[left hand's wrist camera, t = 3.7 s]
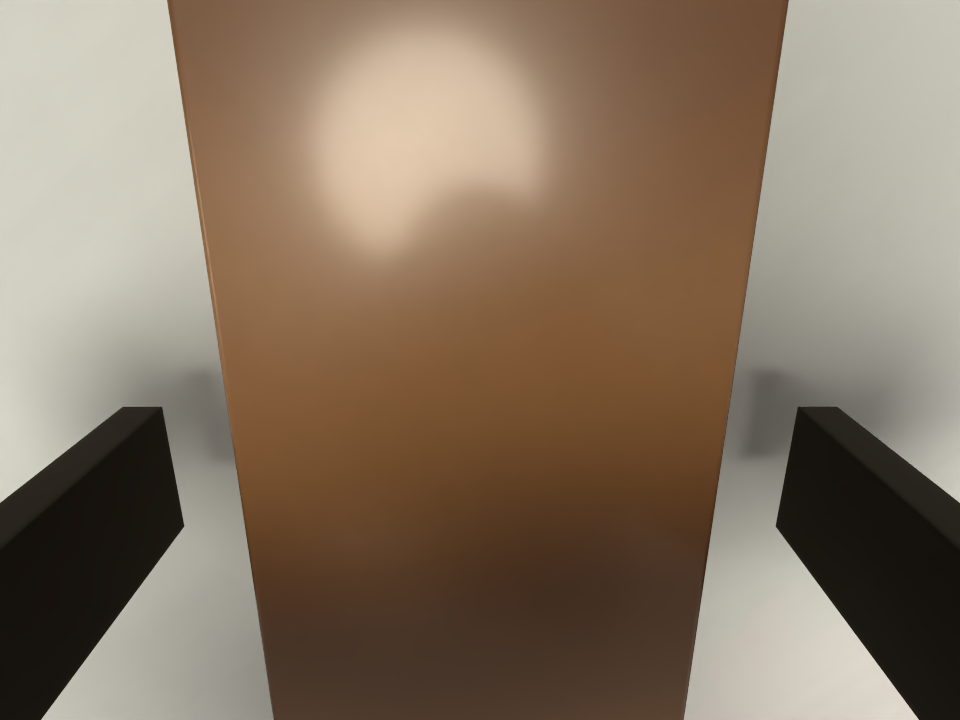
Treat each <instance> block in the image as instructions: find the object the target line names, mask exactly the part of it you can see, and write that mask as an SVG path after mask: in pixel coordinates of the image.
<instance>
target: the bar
mask: <svg viewBox="0 0 960 720" xmlns="http://www.w3.org/2000/svg"><path fill="white" fill-rule="evenodd" d="M788 1H789V0H167V2H168V8H169V15H170V22H171V29H172V35H173V42H174V49H175V56H176V62H177V69H178V76H179V83H180V90H181V96H182V103H183V110H184V117H185V123H186V130H187V137H188V144H189V150H190V157H191V164H192V171H193V177H194V184H195V191H196V198H197V204H198V211H199V218H200V225H201V231H202V238H203V245H204V252H205V258H206V265H207V272H208V279H209V285H210V292H211V299H212V306H213V313H214V319H215V326H216V333H217V340H218V346H219V353H220V360H221V367H222V373H223V380H224V387H225V394H226V400H227V407H228V414H229V421H230V427H231V434H232V441H233V448H234V454H235V461H236V468H237V475H238V481H239V488H240V495H241V502H242V508H243V515H244V522H245V529H246V535H247V542H248V549H249V556H250V563H251V569H252V576H253V583H254V590H255V596H256V603H257V610H258V617H259V623H260V630H261V637H262V644H263V650H264V657H265V664H266V671H267V677H268V684H269V691H270V698H271V704H272V711H273V718H274V720H684V713H685V707H686V700H687V693H688V686H689V679H690V672H691V665H692V659H693V652H694V645H695V638H696V631H697V624H698V617H699V611H700V604H701V597H702V590H703V583H704V576H705V570H706V563H707V556H708V549H709V542H710V535H711V528H712V522H713V515H714V508H715V501H716V494H717V487H718V481H719V474H720V467H721V460H722V453H723V446H724V439H725V433H726V426H727V419H728V412H729V405H730V398H731V391H732V385H733V378H734V371H735V364H736V357H737V350H738V344H739V337H740V330H741V323H742V316H743V309H744V302H745V296H746V289H747V282H748V275H749V268H750V261H751V254H752V248H753V241H754V234H755V227H756V220H757V213H758V207H759V200H760V193H761V186H762V179H763V172H764V165H765V159H766V152H767V145H768V138H769V131H770V124H771V118H772V111H773V104H774V97H775V90H776V83H777V76H778V70H779V63H780V56H781V49H782V42H783V35H784V28H785V22H786V15H787V8H788Z"/></svg>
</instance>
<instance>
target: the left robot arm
mask: <svg viewBox="0 0 960 720" xmlns="http://www.w3.org/2000/svg"><path fill="white" fill-rule="evenodd" d="M183 527H184V522H183V517H182V511H181V506H180V501H179V495H178V490H177V485H176V479H175V474H174V469H173V463H172V458H171V453H170V447H169V442H168V436H167V431H166V426H165V420H164V415H163V410H162V407H122V408H121V409H120V410H118V411H117V412H116V413H115V414H113V415H112V416H111V417H109V418H108V419H107V420H106V421H104V422H103V423H102V424H100V425H99V426H98V427H97V428H95V429H94V430H93V431H92V432H90V433H89V434H88V435H86V436H85V437H84V438H83V439H81V440H80V441H79V442H77V443H76V444H75V445H74V446H72V447H71V448H70V449H69V450H67V451H66V452H65V453H63V454H62V455H61V456H60V457H58V458H57V459H56V460H54V461H53V462H52V463H51V464H49V465H48V466H47V467H46V468H44V469H43V470H42V471H40V472H39V473H38V474H37V475H35V476H34V477H33V478H32V479H30V480H29V481H28V482H26V483H25V484H24V485H23V486H21V487H20V488H19V489H17V490H16V491H15V492H14V493H12V494H11V495H10V496H9V497H7V498H6V499H5V500H3V501H2V502H1V503H0V720H41V719H42V718H43V716H44V715H45V714H46V712H47V711H48V710H49V708H50V707H51V705H52V704H53V703H54V701H55V700H56V699H57V697H58V696H59V695H60V693H61V692H62V691H63V689H64V688H65V687H66V685H67V684H68V683H69V681H70V680H71V678H72V677H73V676H74V674H75V673H76V672H77V670H78V669H79V668H80V666H81V665H82V664H83V662H84V661H85V660H86V658H87V657H88V656H89V654H90V653H91V651H92V650H93V649H94V647H95V646H96V645H97V643H98V642H99V641H100V639H101V638H102V637H103V635H104V634H105V633H106V631H107V630H108V629H109V627H110V626H111V624H112V623H113V622H114V620H115V619H116V618H117V616H118V615H119V614H120V612H121V611H122V610H123V608H124V607H125V606H126V604H127V603H128V602H129V600H130V599H131V598H132V596H133V595H134V593H135V592H136V591H137V589H138V588H139V587H140V585H141V584H142V583H143V581H144V580H145V579H146V577H147V576H148V575H149V573H150V572H151V571H152V569H153V568H154V566H155V565H156V564H157V562H158V561H159V560H160V558H161V557H162V556H163V554H164V553H165V552H166V550H167V549H168V548H169V546H170V545H171V544H172V542H173V541H174V539H175V538H176V537H177V535H178V534H179V533H180V531H181V530H182V529H183ZM776 527H777V529H778V530H779V531H780V533H781V534H782V535H783V537H784V538H785V540H786V541H787V542H788V544H789V545H790V546H791V548H792V549H793V550H794V552H795V553H796V554H797V556H798V557H799V558H800V560H801V561H802V562H803V564H804V565H805V567H806V568H807V569H808V571H809V572H810V573H811V575H812V576H813V577H814V579H815V580H816V581H817V583H818V584H819V585H820V587H821V588H822V589H823V591H824V592H825V593H826V595H827V596H828V598H829V599H830V600H831V602H832V603H833V604H834V606H835V607H836V608H837V610H838V611H839V612H840V614H841V615H842V616H843V618H844V619H845V620H846V622H847V623H848V625H849V626H850V627H851V629H852V630H853V631H854V633H855V634H856V635H857V637H858V638H859V639H860V641H861V642H862V643H863V645H864V646H865V647H866V649H867V650H868V652H869V653H870V654H871V656H872V657H873V658H874V660H875V661H876V662H877V664H878V665H879V666H880V668H881V669H882V670H883V672H884V673H885V674H886V676H887V677H888V679H889V680H890V681H891V683H892V684H893V685H894V687H895V688H896V689H897V691H898V692H899V693H900V695H901V696H902V697H903V699H904V700H905V701H906V703H907V704H908V705H909V707H910V708H911V710H912V711H913V712H914V714H915V715H916V716H917V718H918V719H919V720H960V503H959V502H958V501H957V500H955V499H954V498H953V497H951V496H950V495H949V494H948V493H946V492H945V491H944V490H943V489H941V488H940V487H939V486H937V485H936V484H935V483H934V482H932V481H931V480H930V479H928V478H927V477H926V476H925V475H923V474H922V473H921V472H920V471H918V470H917V469H916V468H914V467H913V466H912V465H911V464H909V463H908V462H907V461H905V460H904V459H903V458H902V457H900V456H899V455H898V454H897V453H895V452H894V451H893V450H891V449H890V448H889V447H888V446H886V445H885V444H884V443H882V442H881V441H880V440H879V439H877V438H876V437H875V436H874V435H872V434H871V433H870V432H868V431H867V430H866V429H865V428H863V427H862V426H861V425H860V424H858V423H857V422H856V421H854V420H853V419H852V418H851V417H849V416H848V415H847V414H845V413H844V412H843V411H842V410H840V409H839V408H838V407H798V410H797V415H796V420H795V426H794V431H793V436H792V442H791V447H790V452H789V458H788V463H787V468H786V474H785V479H784V485H783V490H782V495H781V501H780V506H779V511H778V517H777V522H776Z"/></svg>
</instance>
